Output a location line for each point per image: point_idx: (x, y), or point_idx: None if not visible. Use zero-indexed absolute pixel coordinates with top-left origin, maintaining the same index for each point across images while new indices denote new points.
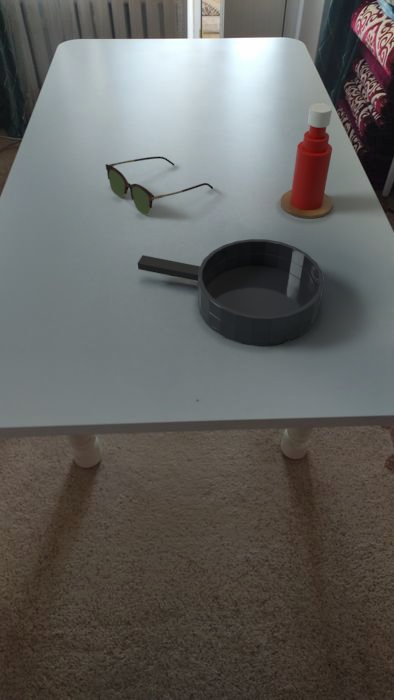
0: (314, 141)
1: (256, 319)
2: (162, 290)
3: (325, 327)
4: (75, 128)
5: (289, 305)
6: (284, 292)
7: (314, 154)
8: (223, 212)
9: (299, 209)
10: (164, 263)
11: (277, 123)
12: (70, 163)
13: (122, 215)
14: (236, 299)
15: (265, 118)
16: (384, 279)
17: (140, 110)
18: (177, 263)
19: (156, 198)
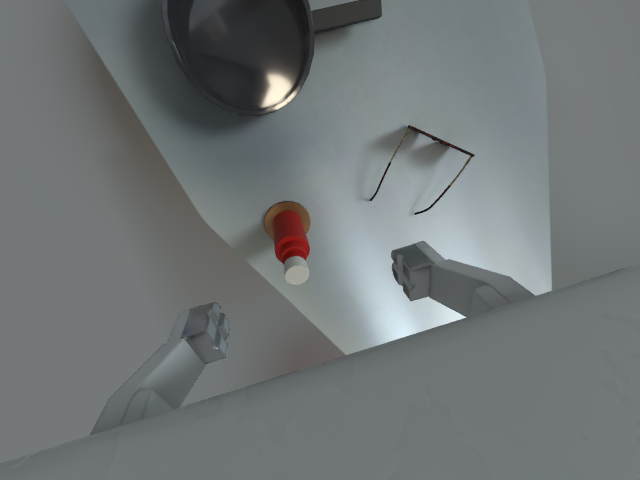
0: (290, 247)
1: None
2: None
3: (164, 39)
4: (513, 218)
5: (213, 51)
6: (230, 72)
7: (286, 238)
8: (346, 172)
9: (287, 209)
10: (353, 12)
11: (360, 308)
12: (502, 167)
13: (429, 115)
14: (265, 30)
15: (371, 308)
16: (165, 154)
17: None
18: (340, 21)
19: (408, 131)
